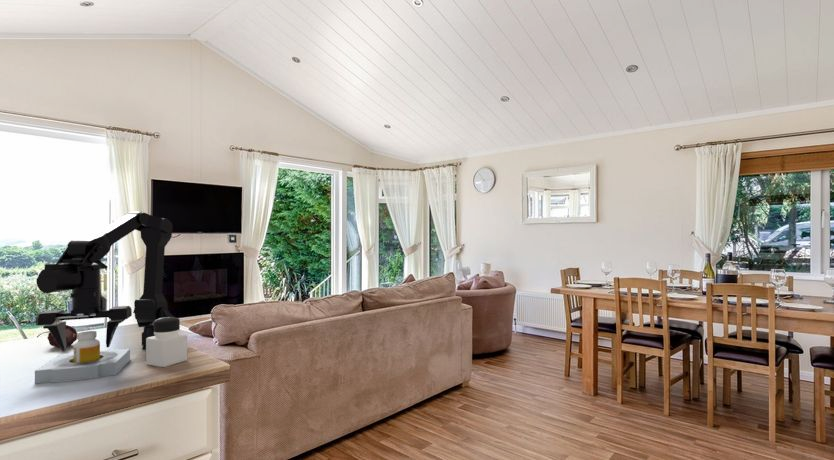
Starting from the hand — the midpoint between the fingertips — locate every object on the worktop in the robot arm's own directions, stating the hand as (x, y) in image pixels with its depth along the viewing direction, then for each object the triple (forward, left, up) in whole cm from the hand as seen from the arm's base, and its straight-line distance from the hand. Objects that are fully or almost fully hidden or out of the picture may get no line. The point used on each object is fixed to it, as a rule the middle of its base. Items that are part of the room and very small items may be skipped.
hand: (86, 349), depth 111 cm
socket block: (0, 0, -6) cm, 6 cm away
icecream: (+15, -32, -6) cm, 36 cm away
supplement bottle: (0, 0, -6) cm, 6 cm away
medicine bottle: (-18, 0, -6) cm, 19 cm away
